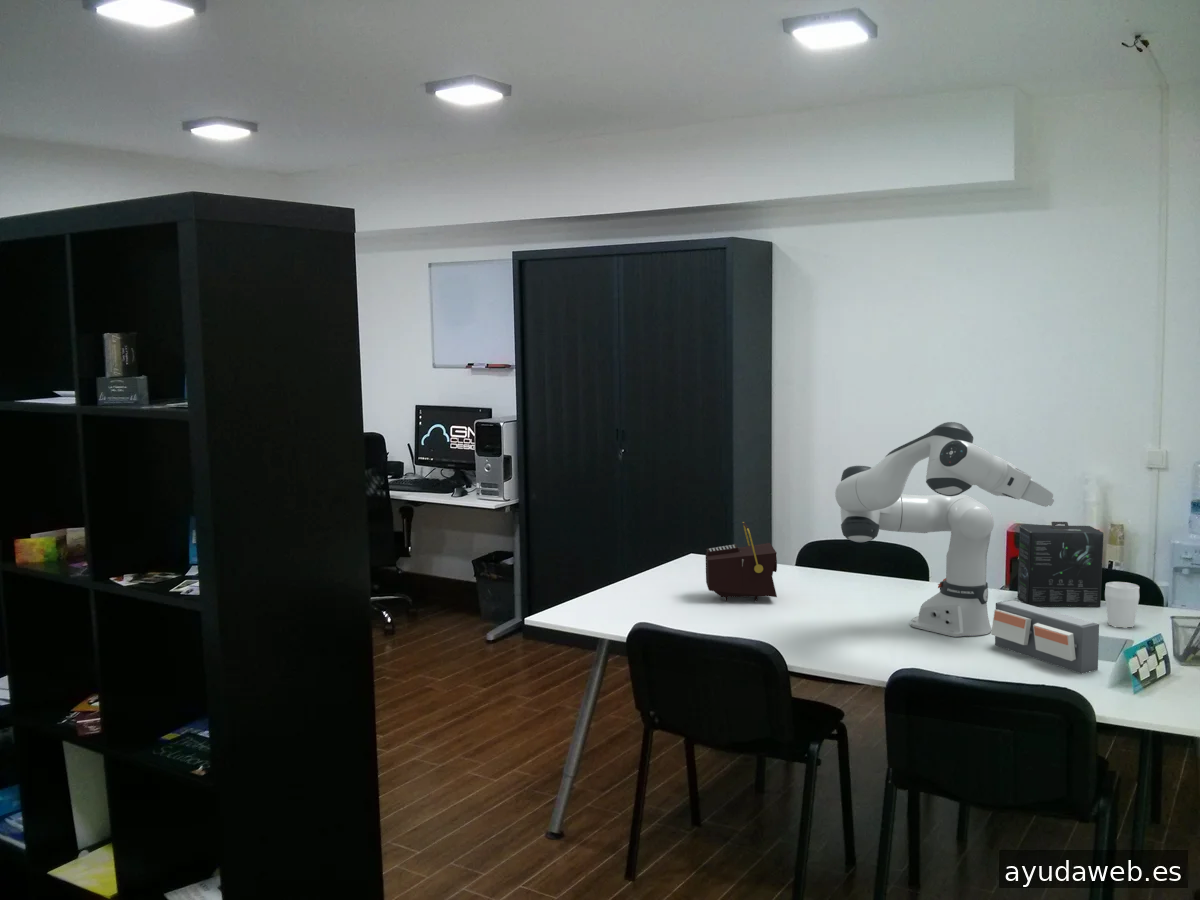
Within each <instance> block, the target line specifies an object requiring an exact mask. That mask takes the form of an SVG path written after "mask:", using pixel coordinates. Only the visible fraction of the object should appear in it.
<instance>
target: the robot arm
mask: <svg viewBox="0 0 1200 900" xmlns="http://www.w3.org/2000/svg"><path fill="white" fill-rule="evenodd" d="M973 442H974V435H973V434H972V433H971V431H970V430H969V429H968V428H967V427H966V426H965V425H963V424H962V423H959V422H955V421H947V422H943V423H941V424H939V425H937V426H935V427H934V428H933V429H931V430H930V431H928V432H927V433H926V434H923V435H921V436H919V437H917V438H915V439H912V440H910V441H909V442H907V443H905V444H902V445H900V446H898V447H896V448H894V449H892V450H891V451H889V452H888V453H887V454H886V455H884V458H883V459H882V460H880V461H879V462H878V463H877V464H875V465H874V466H872V467H871V466H867V465H863V464H855V465H852V466H848V467H847V468H845V469H844V470H843V471H842V474H841V477H840V481H839V483H838V484H837V485H836V488H835V492H834V493H835V494H834V495H835V500H836V503H837V504H838V506H839V507H840V519H841V524H840V528H841V531H842V535H843V536H844V538H846V539H847V540H849V541H853V542H856V543H865V542H869V541H873V540H874V539H876V538H877V537H878V535H879V531H880V530H881V531H888V532H899V533H915V534H928V533H937V532H950V539H949V543H948V550H947V552H946V555H945V556H946V558H945V559H946V560H945V561H946V562H945V564H946V566H945V567H946V568H945V570H946V571H945V573H946V574H945V576H946V577H945V578H943V580H942V581H940V582H939V583H938V584H937V589H939V592H937V593H936V594H934V595H933V596H931V597H930V598H928V599H927V600H925V601H924V602H923V603H922V604H921V605H920V608H919V612H918V615H917V616H916V617H914V618H912V620H911V621H910V627H913V628H916V629H918V630H919V629H921V630H924V631H928V632H933V633H938V634H941V635H946V636H949V637H953V638H957V637H965V636H967V637H968V636H969V637H972V636H973V637H974V636H983V635H987V634H991V631H992V626H991V624H990V618H989V613H988V603H987V602H988V599H989V589H988V588H989V586H988V582H987V560H988V557H987V556H988V553H989V551H988V550H989V546H990V541H991V534H992V531H993V529H994V525H995V521H994V517H993V515H992V512H991V510H990V509H989V508H988V506H986V505H985V504H984V503H982V502H981V501H979V500H977V499H976V498H974V497H972V496H970V495H967V494H963V493H964V492H967V491H968V490H970V489H971V488H972V487H973V486H977V487H978V488H980V489H981V490H984V491H985V492H987V493H989V494H991V495H993V496H997V497H998V496H999V497H1000V496H1001V497H1008V498H1011V499H1015V500H1018V501H1019V500H1020V499H1021V500H1023V501H1026V502H1030V503H1032V504H1036V505H1037V506H1042V507H1045V508H1046V507H1048V506H1050V507H1051V506H1053V504H1054V502H1055V500H1054V493H1053V492H1052V491H1051V490H1049V489H1048V488H1046V487H1045V486H1044V485H1042V484H1040V483H1039V482H1037V481H1035V480H1034V479H1032V476H1031V475H1030V474H1028V473H1027V472H1024V471H1023V470H1021V469H1019V468H1018V467H1017V466H1016V465H1015V464H1014V463H1012V462H1010V461H1008V460H1007V459H1005V458H1002V457H1000V456H998V455H996V454H991V453H990V451H988V450H987V449H985V448H984V447H980V446H979V445H976V444H974V443H973ZM927 458H928V461H927V462H928V463H927V467H926V476H925V483H926V485H927V486H928V488H930V489H931V490H932V491H933V492H935V493H937V494H931V495H930V494H928V495H927V494H925V495H924V494H923V495H922V494H907V493H906V494H905V493H903V492H904V490H905V487H906V484H907V481H908V479H909V476H910V474H911V472H912V470H913V469H914V467H915V466H916V465H917V464H918V463H919V462H921V461H922V460H925V459H927Z"/></svg>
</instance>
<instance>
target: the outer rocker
mask: <svg viewBox="0 0 1200 900" xmlns="http://www.w3.org/2000/svg"><path fill="white" fill-rule="evenodd" d="M1033 628H1034V637H1035V646H1036V650H1039V651H1042V652H1045V653H1048V654H1051V655H1054V656H1057V657H1060V658H1063V659H1066V660H1070V661H1073V660H1075V659H1076V656H1075V648H1077V645H1076V644H1074V636H1073V633H1070V632H1067V631H1063V630H1060V629H1056V628H1053V627H1050V626H1046V625H1043V624H1039V623H1036V624H1034V625H1033Z"/></svg>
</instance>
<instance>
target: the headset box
mask: <svg viewBox="0 0 1200 900" xmlns="http://www.w3.org/2000/svg"><path fill="white" fill-rule="evenodd" d="M1018 539H1019V543H1018V567H1017V569H1018V571H1017V599H1018V600H1019V601H1020V602H1021V603H1025V604H1028V605H1032V606H1035V607H1075V606H1078V607H1081V608H1083V607H1084V608H1101V603H1102V600H1101V599H1102V578H1103V577H1102V575H1103V557H1104V556H1103V555H1104V554H1103V553H1104V532H1103V531H1101V530H1099V529H1096V528H1094V527H1093V526H1091V525H1069V523H1068V521H1051V525H1050V524H1049V525H1046V524H1036V525H1035V524H1027V525H1026V524H1020V526H1019V536H1018Z"/></svg>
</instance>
